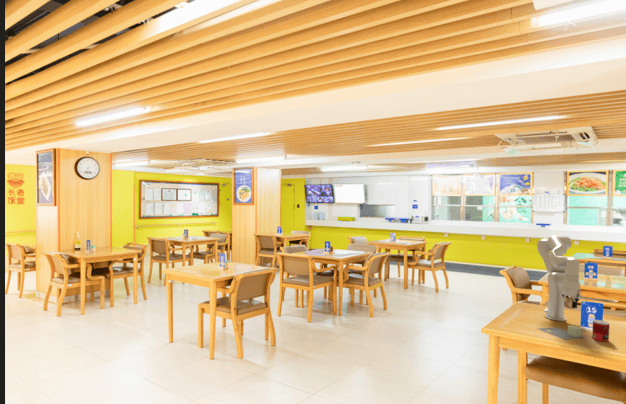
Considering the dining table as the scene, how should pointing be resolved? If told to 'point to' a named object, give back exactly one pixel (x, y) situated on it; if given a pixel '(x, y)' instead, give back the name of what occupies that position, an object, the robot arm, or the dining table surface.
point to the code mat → (559, 333)
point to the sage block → (575, 331)
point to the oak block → (568, 302)
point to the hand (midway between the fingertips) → (570, 306)
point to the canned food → (600, 330)
